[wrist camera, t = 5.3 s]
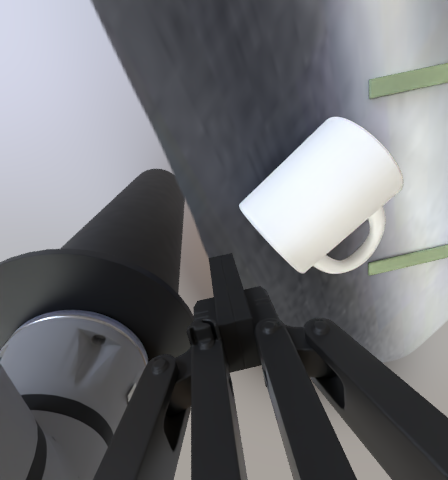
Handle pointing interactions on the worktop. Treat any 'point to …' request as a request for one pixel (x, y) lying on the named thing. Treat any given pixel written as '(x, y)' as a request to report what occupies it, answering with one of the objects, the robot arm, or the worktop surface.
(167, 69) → the worktop surface
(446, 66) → the strips
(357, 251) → the mug
